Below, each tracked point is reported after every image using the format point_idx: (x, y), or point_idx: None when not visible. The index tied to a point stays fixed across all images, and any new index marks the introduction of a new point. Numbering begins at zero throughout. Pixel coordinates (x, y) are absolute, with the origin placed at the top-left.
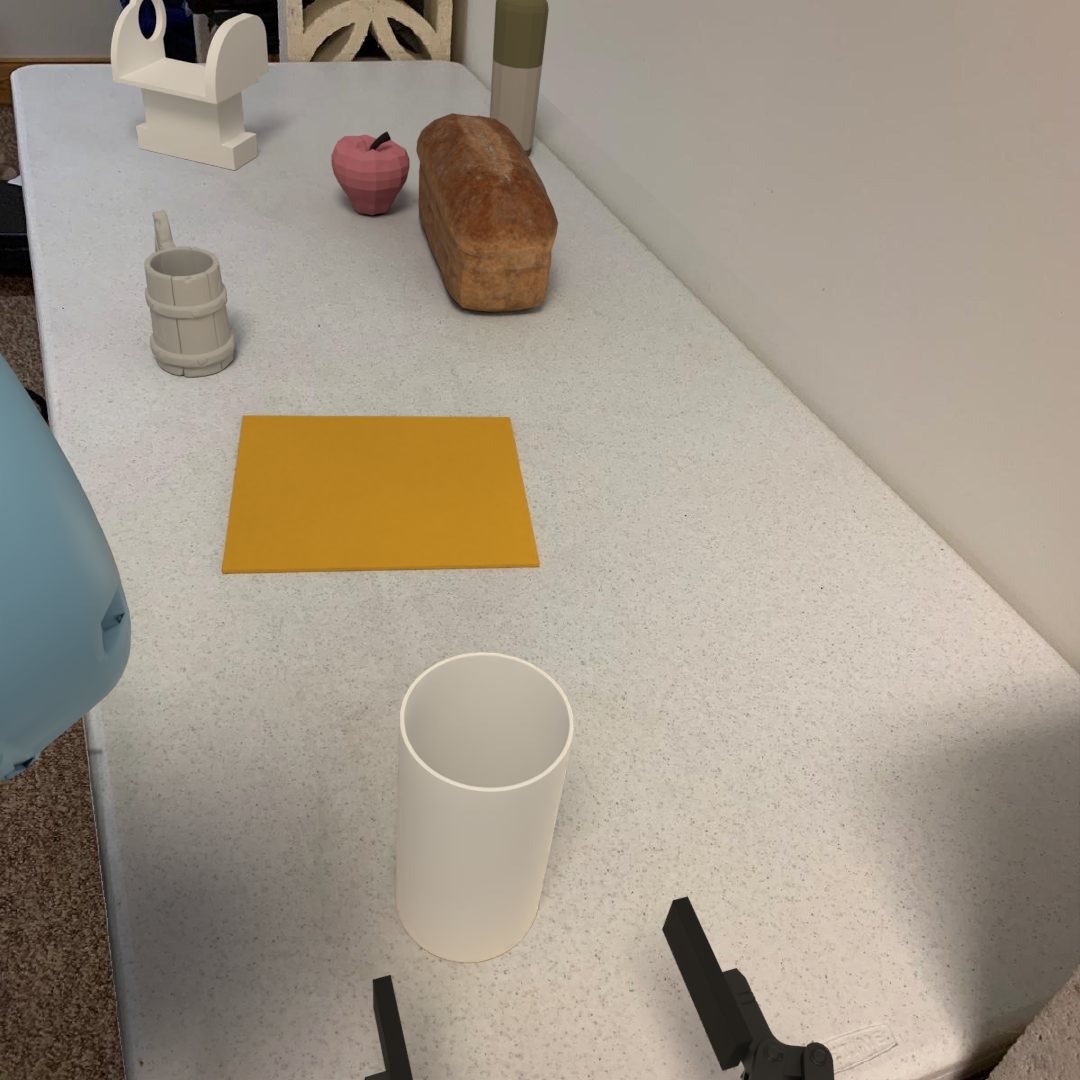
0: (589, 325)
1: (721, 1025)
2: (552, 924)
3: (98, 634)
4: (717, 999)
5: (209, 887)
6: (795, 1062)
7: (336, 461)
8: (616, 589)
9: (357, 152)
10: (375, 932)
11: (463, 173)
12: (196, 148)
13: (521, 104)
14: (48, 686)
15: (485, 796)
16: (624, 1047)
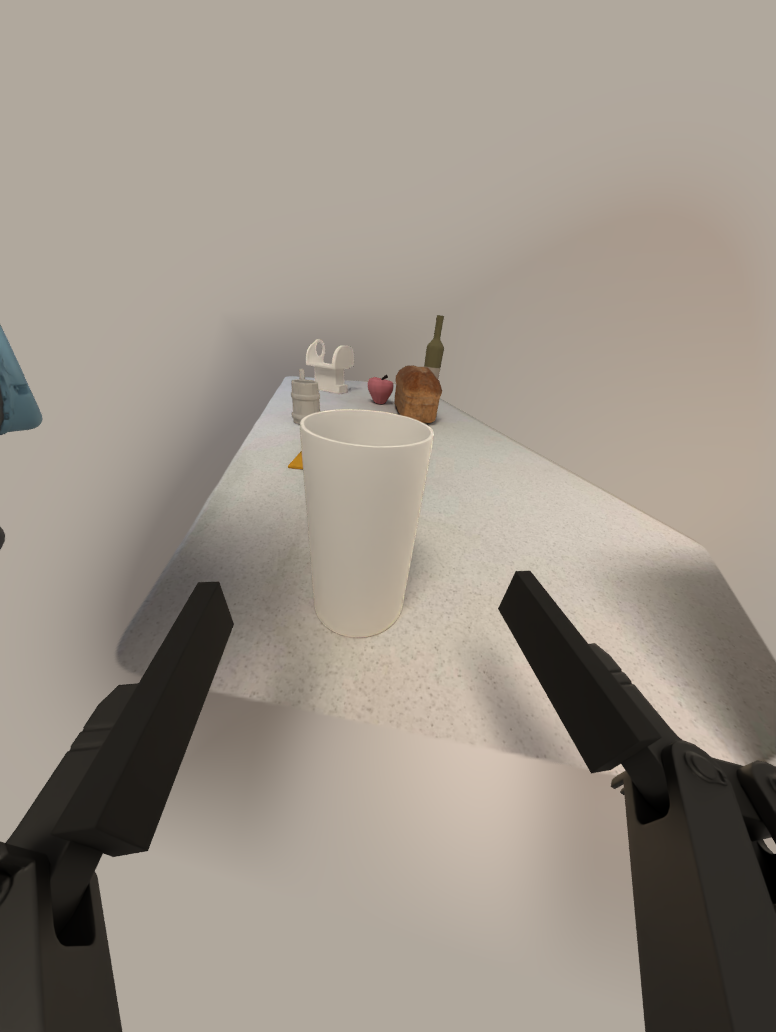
0: (450, 429)
1: (596, 707)
2: (408, 623)
3: None
4: (589, 671)
5: (215, 572)
6: (735, 790)
7: None
8: (457, 491)
9: (376, 379)
10: (296, 609)
11: (409, 372)
12: (328, 387)
13: None
14: None
15: (350, 451)
16: (452, 719)
